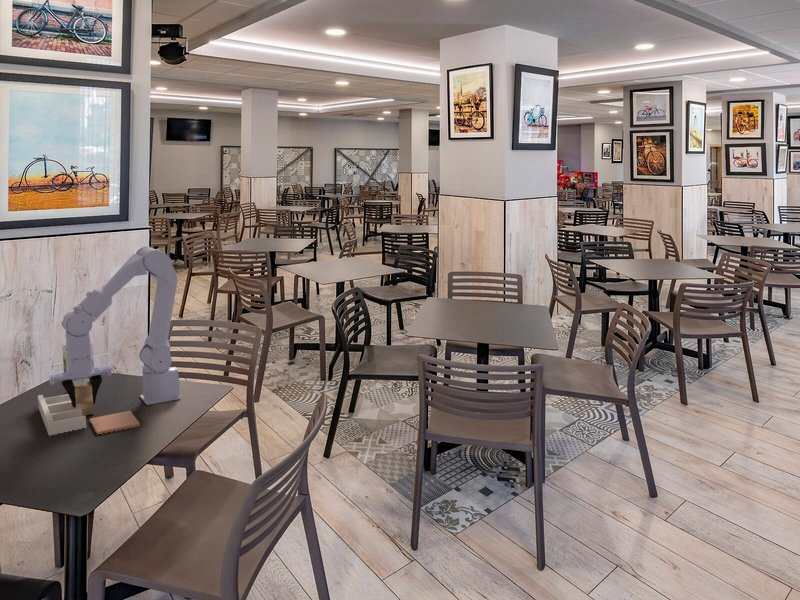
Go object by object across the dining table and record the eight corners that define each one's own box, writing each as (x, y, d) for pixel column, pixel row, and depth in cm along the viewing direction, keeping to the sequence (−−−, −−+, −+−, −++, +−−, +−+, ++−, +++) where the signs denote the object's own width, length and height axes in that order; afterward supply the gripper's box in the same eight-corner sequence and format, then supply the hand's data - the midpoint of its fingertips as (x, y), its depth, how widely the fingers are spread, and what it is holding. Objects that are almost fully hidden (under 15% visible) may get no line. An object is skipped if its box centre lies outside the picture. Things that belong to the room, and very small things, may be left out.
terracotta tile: (130, 413, 159) (130, 410, 159) (139, 426, 152) (139, 423, 152) (89, 421, 154) (89, 418, 153) (97, 435, 146) (97, 432, 146)
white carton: (78, 386, 178) (74, 340, 175) (96, 387, 177) (92, 341, 174) (65, 392, 172) (60, 345, 170) (83, 394, 172) (79, 347, 169)
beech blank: (91, 408, 161) (88, 381, 159) (94, 413, 158) (91, 385, 156) (74, 412, 158) (72, 384, 157) (77, 417, 155) (74, 388, 154)
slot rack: (73, 403, 165) (72, 389, 164) (86, 427, 150) (85, 413, 149) (38, 409, 160) (37, 395, 159) (48, 435, 145) (47, 420, 144)
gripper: (106, 348, 162) (109, 394, 165) (46, 356, 153) (50, 405, 156) (111, 354, 157) (115, 402, 159) (49, 363, 148) (54, 414, 151)
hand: (83, 404), depth 157 cm, fingers closed on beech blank, 4 cm apart
